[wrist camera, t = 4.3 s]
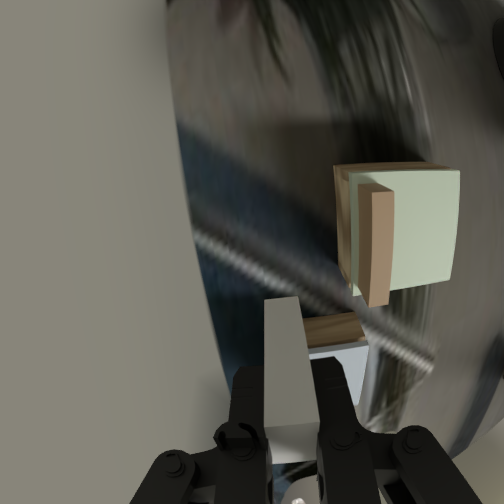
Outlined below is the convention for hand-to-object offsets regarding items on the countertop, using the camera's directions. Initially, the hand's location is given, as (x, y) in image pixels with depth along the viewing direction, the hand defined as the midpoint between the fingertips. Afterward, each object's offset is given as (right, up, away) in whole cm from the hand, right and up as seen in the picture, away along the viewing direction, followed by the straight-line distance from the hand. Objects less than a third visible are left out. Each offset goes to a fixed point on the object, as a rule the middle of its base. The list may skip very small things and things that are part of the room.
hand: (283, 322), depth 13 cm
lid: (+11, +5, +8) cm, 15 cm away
